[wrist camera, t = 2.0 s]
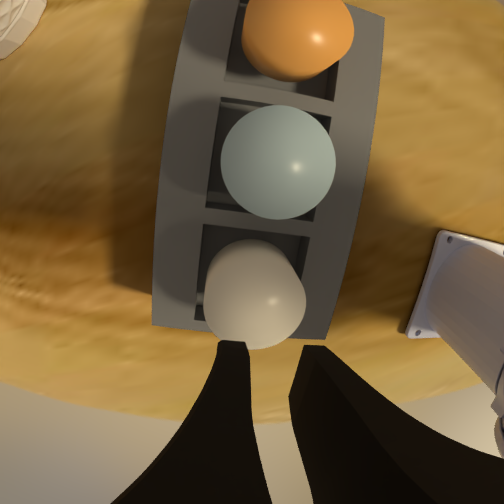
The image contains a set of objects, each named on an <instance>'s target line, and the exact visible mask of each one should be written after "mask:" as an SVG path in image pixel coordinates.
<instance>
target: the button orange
mask: <svg viewBox="0 0 504 504" xmlns="http://www.w3.org/2000/svg"><path fill="white" fill-rule="evenodd" d="M353 37H354V25H353V20H352V17H351V15H350V12H349V10H348V9H347V7H346V6H345V4H344V3H343V2H342V1H341V0H249V2H248V5H247V8H246V13H245V18H244V24H243V29H242V36H241V43H242V48H243V51H244V54H245V56H246V58H247V59H248V61H249V62H250V63H251V65H252V66H253V67H254V68H255V69H257V70H258V71H259V72H260V73H262V74H264V75H265V76H267V77H269V78H272V79H274V80H278V81H282V82H301V81H306V80H308V79H311V78H313V77H315V76H317V75H318V74H319V73H321V72H322V71H324V70H325V69H326V68H328V67H329V66H331V65H332V64H333V63H335V62H336V61H338V60H339V59H341V58H342V57H343V56H344V55H345V54H346V53H347V51H348V50H349V48H350V46H351V44H352V41H353Z"/></svg>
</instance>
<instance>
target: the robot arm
mask: <svg viewBox="0 0 504 504" xmlns="http://www.w3.org/2000/svg"><path fill="white" fill-rule="evenodd" d="M448 237H449V240H448V241H447V239H448ZM417 330H418V331H417ZM416 331H417V332H416ZM405 335H406V336H407V337H408V338H436V337H441V338H442V339H443V340H444V341H445V342H446V343H447V344H448V345H449V346H450V347H451V348H452V349H453V350H454V351H455V352H456V353H457V354H458V355H459V356H460V357H461V358H462V359H463V360H464V361H465V362H466V363H467V364H468V365H469V367H470V368H471V369H472V370H473V371H474V372H475V373H476V374H477V375H478V376H479V377H480V378H481V379H482V381H483V382H484V383H485V384H486V385H487V386H488V387H489V388H490V389H491V390H492V391H493V392H494V394H495V395H496V397H495V399H494V401H493V403H492V404H491V408H492V409H493V410H494V411H495V412H496V413H497V415H498V416H499V417H498V418H497V420H496V423H495V428H494V434H495V439H496V443H497V447H498V450H499V453H500V455H501V457H502V458H500V457H496V456H493V455H490V454H487V453H484V452H481V451H478V450H475V449H473V448H470V447H468V446H465V445H463V444H461V443H459V442H456V441H454V440H452V439H450V438H448V437H446V436H444V435H442V434H440V433H438V432H436V431H435V430H433V429H431V428H429V427H428V426H426V425H424V424H423V423H421V422H419V421H418V420H416V419H415V418H413V417H412V416H410V415H408V414H407V413H405V412H404V411H403V410H401V409H400V408H399V407H397V406H396V405H395V404H393V403H392V402H391V401H389V400H388V399H387V398H385V397H384V396H383V395H382V394H380V393H379V392H378V391H377V390H375V389H374V388H373V387H372V386H370V385H369V384H368V383H367V382H366V381H365V380H363V379H362V378H361V377H360V376H359V375H358V374H357V373H355V372H354V371H353V370H352V369H351V368H350V367H349V366H348V365H346V364H345V363H344V362H343V361H342V360H341V359H340V358H338V357H337V356H336V355H335V354H334V353H333V352H332V351H330V350H329V349H328V348H327V347H325V346H320V345H304V347H303V350H302V354H301V357H300V360H299V364H298V367H297V371H296V374H295V377H294V380H293V384H292V387H291V390H290V393H289V396H288V397H289V405H290V413H291V420H292V426H293V430H294V434H295V437H296V441H297V444H298V448H299V451H300V454H301V457H302V461H303V465H304V468H305V472H306V475H307V479H308V482H309V485H310V489H311V494H312V498H313V503H314V504H504V245H503V244H499V243H495V242H491V241H488V240H484V239H480V238H475V237H471V236H467V235H463V234H459V233H454V232H450V231H446V230H441V231H439V233H438V234H437V237H436V241H435V244H434V248H433V251H432V255H431V258H430V262H429V265H428V268H427V272H426V275H425V278H424V281H423V284H422V287H421V290H420V293H419V296H418V299H417V302H416V304H415V307H414V310H413V313H412V315H411V318H410V321H409V323H408V326H407V328H406V331H405ZM111 504H272V501H271V498H270V495H269V491H268V487H267V483H266V480H265V476H264V472H263V468H262V464H261V460H260V456H259V451H258V446H257V443H256V437H255V432H254V427H253V420H252V409H251V377H250V356H249V352H248V348H247V346H246V343H245V342H243V341H231V340H221V341H220V342H218V346H217V354H216V358H215V361H214V364H213V367H212V369H211V372H210V374H209V376H208V378H207V380H206V383H205V385H204V387H203V389H202V391H201V393H200V395H199V396H198V398H197V400H196V402H195V403H194V405H193V407H192V409H191V410H190V412H189V414H188V415H187V417H186V418H185V420H184V421H183V423H182V425H181V426H180V428H179V429H178V431H177V432H176V433H175V435H174V436H173V437H172V439H171V440H170V441H169V443H168V444H167V445H166V446H165V448H164V449H163V450H162V451H161V453H160V454H159V455H158V456H157V458H155V460H154V461H153V462H152V463H151V464H150V466H149V467H148V468H147V469H146V470H145V471H144V472H143V473H142V474H141V475H140V476H139V477H138V478H137V479H136V480H135V481H134V482H133V483H132V484H131V485H130V486H129V487H128V488H127V489H126V490H125V491H124V492H123V493H122V494H120V495H119V496H118V497H117V498H116V499H115V500H114V501H113V502H112V503H111Z"/></svg>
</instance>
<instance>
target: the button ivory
mask: <svg viewBox="0 0 504 504" xmlns="http://www.w3.org/2000/svg"><path fill="white" fill-rule="evenodd" d="M305 309H306V295H305V291H304V288H303V286H302V283H301V282H300V280H299V278H298V276H297V274H296V273H295V271H294V269H293V267H292V265H291V264H290V262H289V260H288V259H287V257H286V255H285V254H284V253H283V252H282V251H281V250H280V249H279V248H278V247H276V246H275V245H273V244H271V243H269V242H266V241H263V240H258V239H243V240H239V241H236V242H233V243H231V244H229V245H227V246H225V247H224V248H222V249H221V250H220V251H219V252H218V253H217V254H216V255H215V256H214V258H213V259H212V261H211V263H210V265H209V268H208V271H207V276H206V284H205V293H204V302H203V310H204V316H205V320H206V322H207V324H208V326H209V328H210V329H211V331H212V332H213V333H214V334H215V335H216V336H217V337H218V338H219V339H220V340H231V341H243V342H245V343H246V346H247V348H248V349H252V350H255V349H263V348H267V347H271V346H274V345H276V344H278V343H280V342H282V341H283V340H285V339H286V338H288V337H289V336H290V335H291V334H292V333H293V332H294V331H295V330H296V329H297V327H298V326H299V324H300V323H301V321H302V319H303V316H304V313H305Z"/></svg>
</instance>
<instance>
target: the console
mask: <svg viewBox="0 0 504 504" xmlns="http://www.w3.org/2000/svg"><path fill="white" fill-rule="evenodd" d="M248 2H249V0H191V2H190V6H189V10H188V14H187V18H186V22H185V26H184V30H183V35H182V39H181V44H180V48H179V53H178V58H177V63H176V68H175V73H174V78H173V84H172V90H171V95H170V101H169V107H168V114H167V120H166V127H165V134H164V142H163V149H162V158H161V166H160V175H159V185H158V196H157V207H156V220H155V235H154V254H153V280H152V325H155V326H163V327H170V328H178V329H187V330H196V331H205V332H212V331H211V329H210V328H209V326H208V324H207V322H206V320H205V316H204V310H203V302H204V293H205V284H206V276H207V271H208V268H209V265H210V263H211V261H212V259H213V258H214V256H215V255H216V254H217V253H218V252H219V251H220V250H221V249H222V248H224V247H225V246H227V245H229V244H231V243H233V242H236V241H239V240H243V239H258V240H263V241H266V242H269V243H271V244H273V245H275V246H276V247H278V248H279V249H280V250H281V251H282V252H283V253H284V254H285V255H286V257H287V259H288V260H289V262H290V264H291V265H292V267H293V269H294V271H295V273H296V274H297V276H298V278H299V280H300V282H301V283H302V286H303V288H304V291H305V295H306V309H305V313H304V316H303V319H302V321H301V323H300V324H299V326H298V327H297V329H296V330H295V331H294V332H293V333H292V334H291V335H290V336H289V337H288V338H297V339H322V340H325V339H326V336H327V333H328V329H329V326H330V323H331V319H332V316H333V312H334V309H335V305H336V302H337V298H338V295H339V291H340V288H341V284H342V280H343V276H344V272H345V269H346V265H347V261H348V257H349V253H350V248H351V244H352V240H353V236H354V231H355V227H356V222H357V218H358V213H359V209H360V204H361V199H362V194H363V189H364V184H365V178H366V173H367V167H368V162H369V156H370V150H371V144H372V137H373V131H374V124H375V117H376V109H377V101H378V93H379V84H380V74H381V64H382V52H383V38H384V21H385V18H384V17H382V16H379V15H377V14H374V13H371V12H369V11H366V10H363V9H360V8H358V7H355V6H352V5H349V4H346V3H344V4H345V6H346V7H347V9H348V10H349V12H350V15H351V17H352V20H353V25H354V37H353V41H352V44H351V46H350V48H349V50H348V51H347V53H346V54H345V55H344V56H343V57H342V58H341V59H339V60H338V61H336V62H335V63H333V64H332V65H331V66H329V67H328V68H326V69H325V70H324V71H322V72H321V73H319V74H318V75H317V76H315V77H313V78H311V79H308V80H306V81H301V82H282V81H278V80H274V79H272V78H269V77H267V76H265V75H264V74H262V73H260V72H259V71H258V70H257V69H255V68H254V67H253V66H252V65H251V63H250V62H249V61H248V59H247V58H246V56H245V54H244V51H243V48H242V43H241V36H242V29H243V24H244V18H245V13H246V8H247V5H248ZM272 105H284V106H290V107H294V108H297V109H300V110H302V111H304V112H306V113H308V114H309V115H311V116H312V117H314V118H315V119H316V120H317V121H318V122H319V123H320V124H321V125H322V126H323V127H324V129H325V130H326V132H327V133H328V135H329V137H330V139H331V141H332V144H333V147H334V151H335V158H336V167H335V174H334V178H333V181H332V184H331V186H330V188H329V190H328V192H327V194H326V195H325V196H324V198H323V199H322V200H321V201H320V202H319V203H318V204H317V205H316V206H315V207H314V208H312V209H311V210H309V211H308V212H306V213H304V214H302V215H300V216H297V217H294V218H289V219H281V220H276V219H267V218H263V217H260V216H257V215H255V214H253V213H251V212H249V211H247V210H246V209H244V208H243V207H242V206H241V205H240V204H238V203H237V202H236V200H235V199H234V198H233V197H232V196H231V194H230V193H229V191H228V189H227V187H226V185H225V183H224V180H223V177H222V172H221V152H222V148H223V144H224V142H225V139H226V137H227V135H228V133H229V132H230V130H231V129H232V127H233V126H234V125H235V124H236V123H237V122H238V121H239V120H240V119H241V118H242V117H244V116H245V115H246V114H248V113H250V112H251V111H254V110H256V109H258V108H262V107H265V106H272Z"/></svg>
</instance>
